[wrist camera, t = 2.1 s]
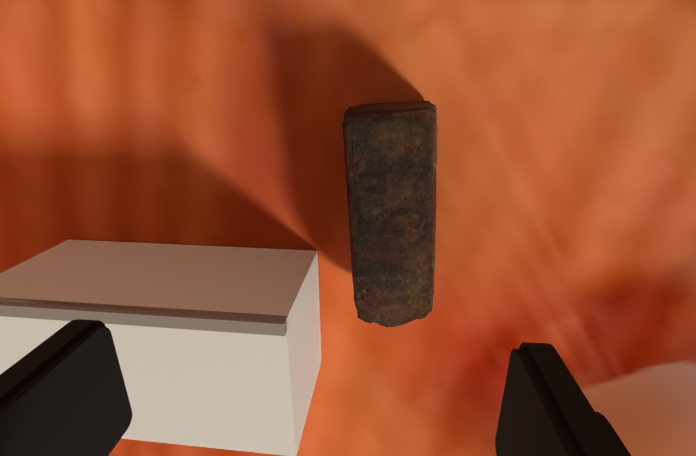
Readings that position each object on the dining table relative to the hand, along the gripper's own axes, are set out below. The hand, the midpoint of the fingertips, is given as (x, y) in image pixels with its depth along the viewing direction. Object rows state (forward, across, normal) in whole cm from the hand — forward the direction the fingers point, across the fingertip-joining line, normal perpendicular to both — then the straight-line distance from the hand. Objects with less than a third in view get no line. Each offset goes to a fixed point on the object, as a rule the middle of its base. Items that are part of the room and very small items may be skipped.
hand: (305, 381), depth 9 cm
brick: (+14, -2, 0) cm, 14 cm away
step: (+14, +10, +7) cm, 18 cm away
